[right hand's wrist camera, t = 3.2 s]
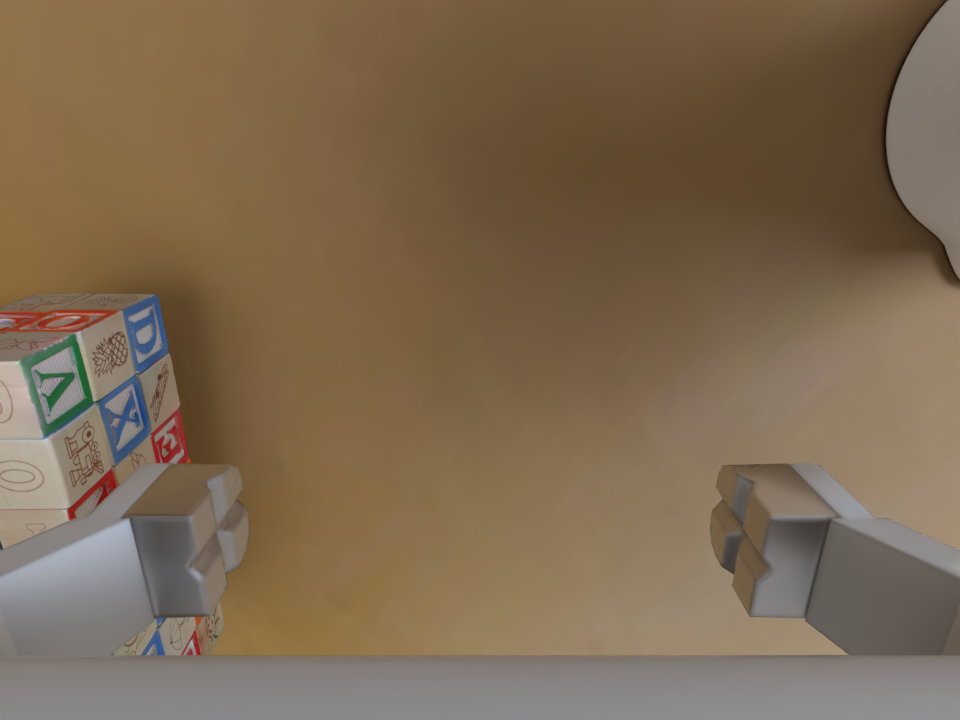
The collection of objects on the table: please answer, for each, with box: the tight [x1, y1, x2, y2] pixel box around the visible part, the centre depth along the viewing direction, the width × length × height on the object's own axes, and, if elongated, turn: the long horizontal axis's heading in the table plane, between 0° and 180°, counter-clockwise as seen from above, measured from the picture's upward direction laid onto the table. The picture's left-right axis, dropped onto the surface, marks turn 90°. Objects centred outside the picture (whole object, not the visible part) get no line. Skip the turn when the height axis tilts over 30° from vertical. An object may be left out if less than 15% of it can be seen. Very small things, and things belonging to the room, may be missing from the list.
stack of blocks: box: [0, 293, 224, 655], centre depth 27 cm, size 21×6×12 cm, turn 0°
